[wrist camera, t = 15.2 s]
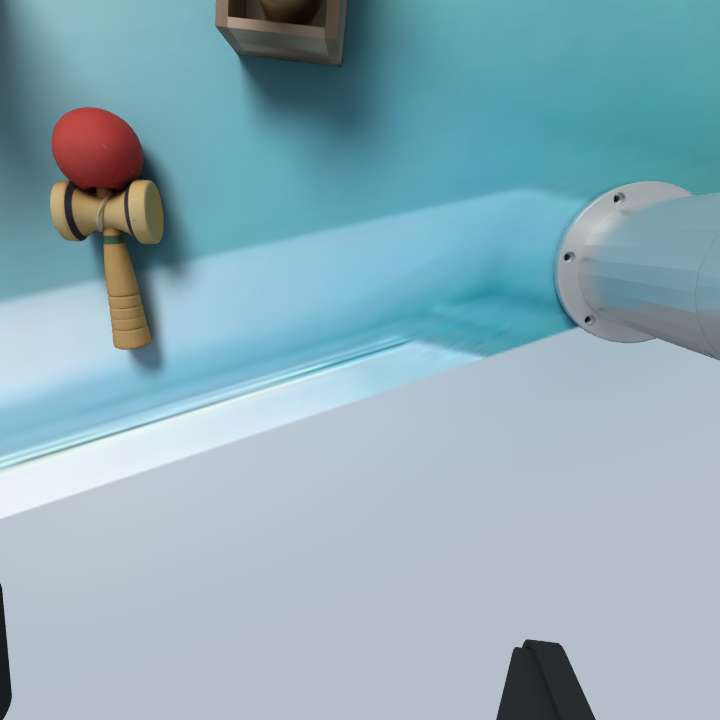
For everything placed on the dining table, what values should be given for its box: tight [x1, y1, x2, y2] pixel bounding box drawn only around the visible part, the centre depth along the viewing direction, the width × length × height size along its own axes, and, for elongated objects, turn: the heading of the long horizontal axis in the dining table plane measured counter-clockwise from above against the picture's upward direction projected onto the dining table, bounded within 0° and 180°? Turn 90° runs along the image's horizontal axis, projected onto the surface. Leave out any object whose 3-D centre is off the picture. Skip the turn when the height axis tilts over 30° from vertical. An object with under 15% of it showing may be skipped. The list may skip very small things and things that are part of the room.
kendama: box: [50, 107, 164, 349], centre depth 37 cm, size 8×6×18 cm
